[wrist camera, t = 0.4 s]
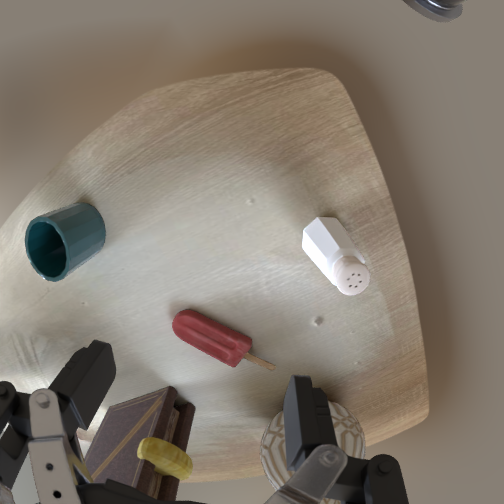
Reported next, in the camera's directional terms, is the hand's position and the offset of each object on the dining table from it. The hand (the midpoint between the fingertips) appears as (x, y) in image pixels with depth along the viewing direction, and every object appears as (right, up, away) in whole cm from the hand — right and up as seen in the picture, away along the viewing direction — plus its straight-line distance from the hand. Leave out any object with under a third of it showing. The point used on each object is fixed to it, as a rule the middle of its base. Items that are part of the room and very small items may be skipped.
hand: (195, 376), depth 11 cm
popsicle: (-1, -6, +25) cm, 26 cm away
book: (-15, -22, +31) cm, 41 cm away
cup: (-19, +8, +20) cm, 29 cm away
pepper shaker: (+10, +7, +20) cm, 23 cm away
